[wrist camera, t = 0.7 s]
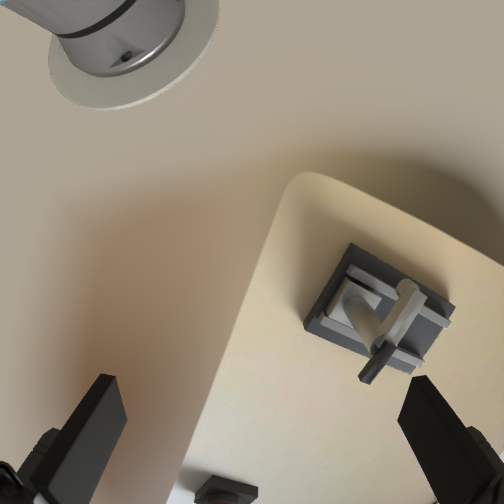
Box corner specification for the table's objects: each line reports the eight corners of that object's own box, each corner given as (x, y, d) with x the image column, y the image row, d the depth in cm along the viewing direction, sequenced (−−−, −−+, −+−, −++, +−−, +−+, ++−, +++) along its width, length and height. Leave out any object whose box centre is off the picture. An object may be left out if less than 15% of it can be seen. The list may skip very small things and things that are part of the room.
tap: (360, 247, 29) (407, 280, 19) (390, 265, 29) (444, 302, 19) (318, 317, 31) (344, 375, 20) (349, 331, 31) (383, 389, 21)
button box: (212, 474, 39) (210, 493, 35) (258, 487, 40) (258, 505, 36) (195, 493, 40) (192, 510, 37) (237, 505, 41) (236, 522, 37)
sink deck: (350, 242, 30) (359, 248, 28) (449, 302, 32) (461, 310, 29) (302, 324, 32) (306, 335, 30) (406, 368, 34) (414, 380, 31)
